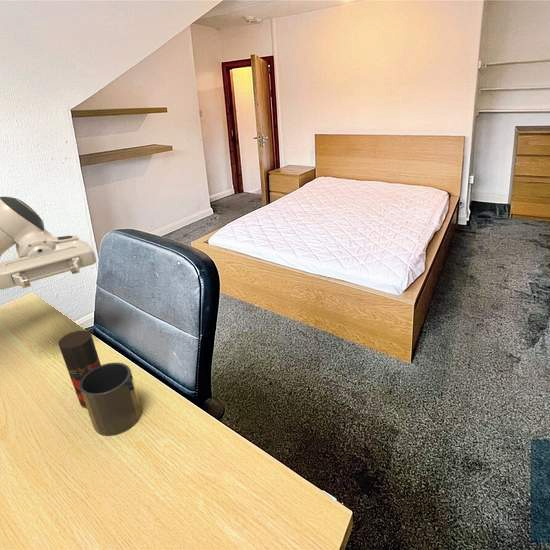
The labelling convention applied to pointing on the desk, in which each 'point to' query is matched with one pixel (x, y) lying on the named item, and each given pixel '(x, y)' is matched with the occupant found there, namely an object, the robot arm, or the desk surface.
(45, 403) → the desk surface
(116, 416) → the pen pot
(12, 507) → the desk surface
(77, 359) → the deodorant
